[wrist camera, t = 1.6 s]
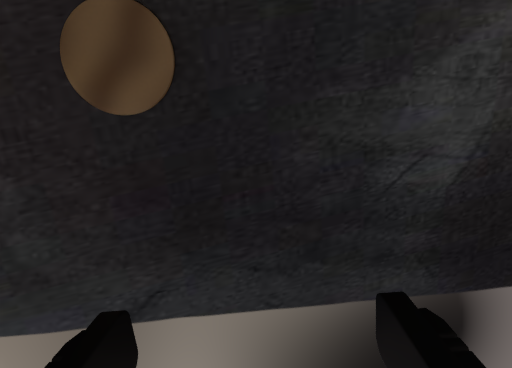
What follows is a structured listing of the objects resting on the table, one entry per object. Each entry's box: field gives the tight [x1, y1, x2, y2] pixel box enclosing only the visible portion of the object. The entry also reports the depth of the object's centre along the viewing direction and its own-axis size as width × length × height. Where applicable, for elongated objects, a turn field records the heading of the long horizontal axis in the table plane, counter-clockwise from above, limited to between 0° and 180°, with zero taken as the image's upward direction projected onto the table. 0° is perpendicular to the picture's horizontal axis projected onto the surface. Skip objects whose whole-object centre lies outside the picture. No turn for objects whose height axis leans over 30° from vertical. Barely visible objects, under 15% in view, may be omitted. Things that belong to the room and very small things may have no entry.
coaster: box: [60, 0, 175, 115], centre depth 28 cm, size 11×11×1 cm
